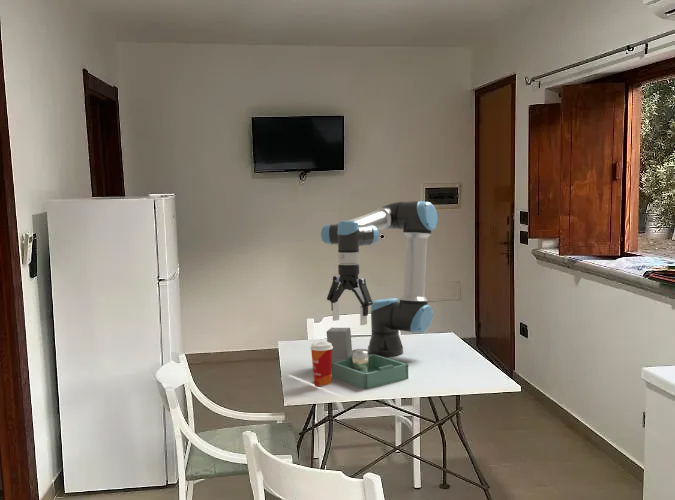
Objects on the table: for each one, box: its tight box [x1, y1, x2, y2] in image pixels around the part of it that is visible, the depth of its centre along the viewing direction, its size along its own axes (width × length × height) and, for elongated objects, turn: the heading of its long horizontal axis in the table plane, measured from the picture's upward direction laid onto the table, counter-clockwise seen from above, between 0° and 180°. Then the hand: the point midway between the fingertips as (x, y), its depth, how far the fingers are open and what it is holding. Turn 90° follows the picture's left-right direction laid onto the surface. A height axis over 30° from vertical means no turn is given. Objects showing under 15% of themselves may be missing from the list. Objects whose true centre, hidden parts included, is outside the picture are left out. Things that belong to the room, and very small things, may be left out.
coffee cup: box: [309, 341, 333, 388], centre depth 236 cm, size 8×8×15 cm
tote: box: [331, 354, 409, 390], centre depth 241 cm, size 20×20×7 cm
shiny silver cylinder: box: [352, 348, 369, 373], centre depth 245 cm, size 6×6×9 cm
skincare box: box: [326, 327, 353, 363], centre depth 257 cm, size 8×7×16 cm
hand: (349, 322), depth 236 cm, fingers open, 13 cm apart
